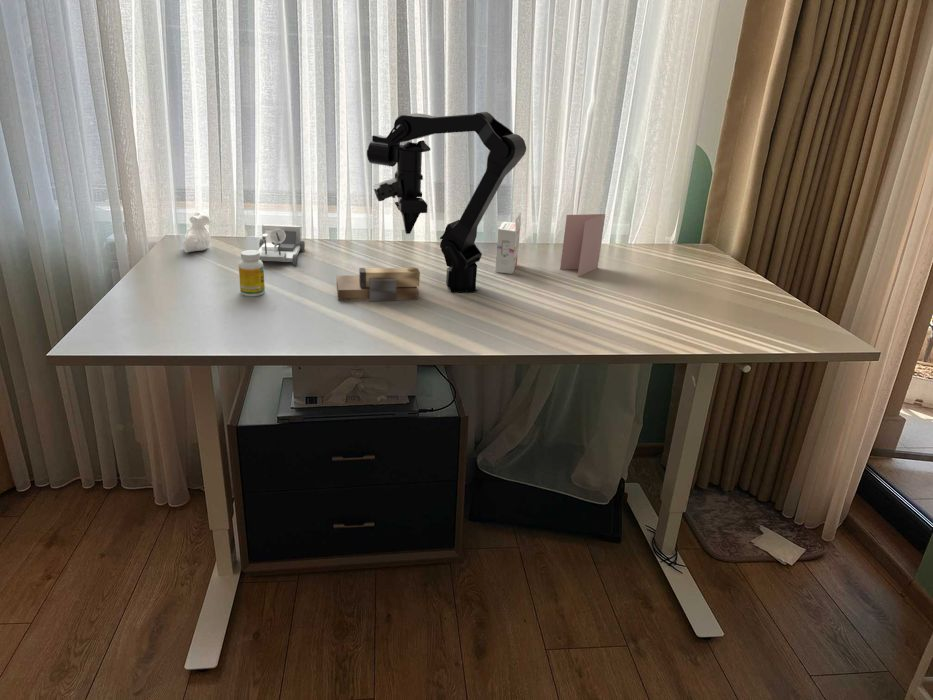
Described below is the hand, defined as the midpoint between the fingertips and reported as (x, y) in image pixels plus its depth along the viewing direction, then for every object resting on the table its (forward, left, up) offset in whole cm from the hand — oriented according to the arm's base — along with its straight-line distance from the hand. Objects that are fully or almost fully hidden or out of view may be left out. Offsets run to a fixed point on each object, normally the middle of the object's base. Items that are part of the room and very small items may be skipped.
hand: (407, 233), depth 176 cm
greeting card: (-48, -2, -11) cm, 50 cm away
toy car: (+32, -15, -12) cm, 37 cm away
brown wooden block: (+9, +12, -11) cm, 19 cm away
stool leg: (+6, +15, -8) cm, 18 cm away
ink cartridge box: (-27, -5, -11) cm, 30 cm away
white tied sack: (+53, -22, -11) cm, 58 cm away
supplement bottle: (+37, +12, -11) cm, 40 cm away
